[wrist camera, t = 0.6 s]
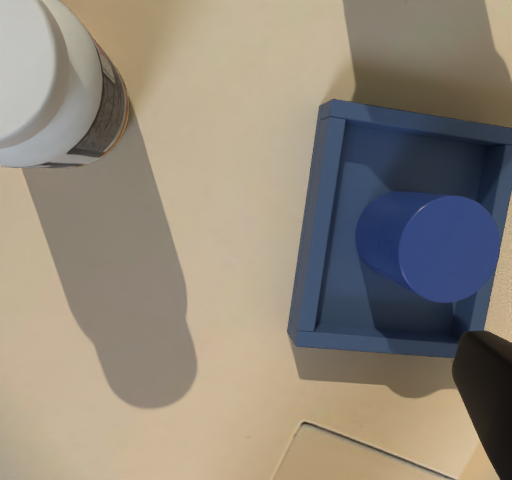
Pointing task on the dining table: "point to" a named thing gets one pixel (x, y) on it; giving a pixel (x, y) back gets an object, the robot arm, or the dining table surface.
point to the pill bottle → (55, 89)
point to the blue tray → (353, 204)
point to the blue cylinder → (429, 243)
